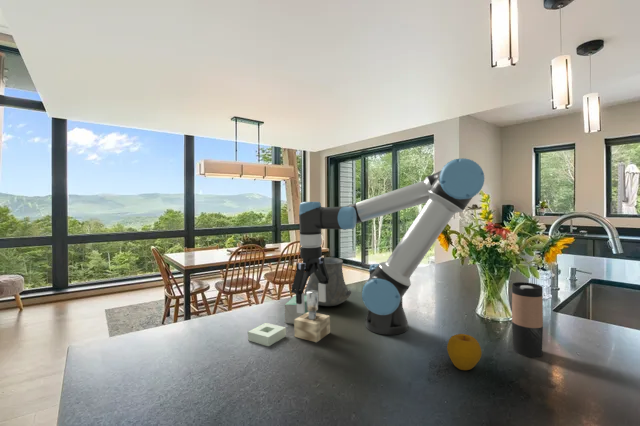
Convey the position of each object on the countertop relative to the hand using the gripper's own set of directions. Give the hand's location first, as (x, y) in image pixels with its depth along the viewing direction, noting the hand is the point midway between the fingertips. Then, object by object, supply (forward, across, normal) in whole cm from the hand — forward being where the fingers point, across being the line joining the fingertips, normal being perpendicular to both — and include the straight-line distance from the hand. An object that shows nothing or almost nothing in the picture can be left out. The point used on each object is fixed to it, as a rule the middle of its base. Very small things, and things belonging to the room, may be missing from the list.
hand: (312, 307), depth 107 cm
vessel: (+10, -32, -12) cm, 36 cm away
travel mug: (+10, -21, +63) cm, 67 cm away
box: (+10, -11, -14) cm, 21 cm away
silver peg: (+9, 0, 0) cm, 9 cm away
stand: (+10, +10, -12) cm, 18 cm away
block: (+10, 0, 0) cm, 10 cm away
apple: (+10, -2, +48) cm, 49 cm away
